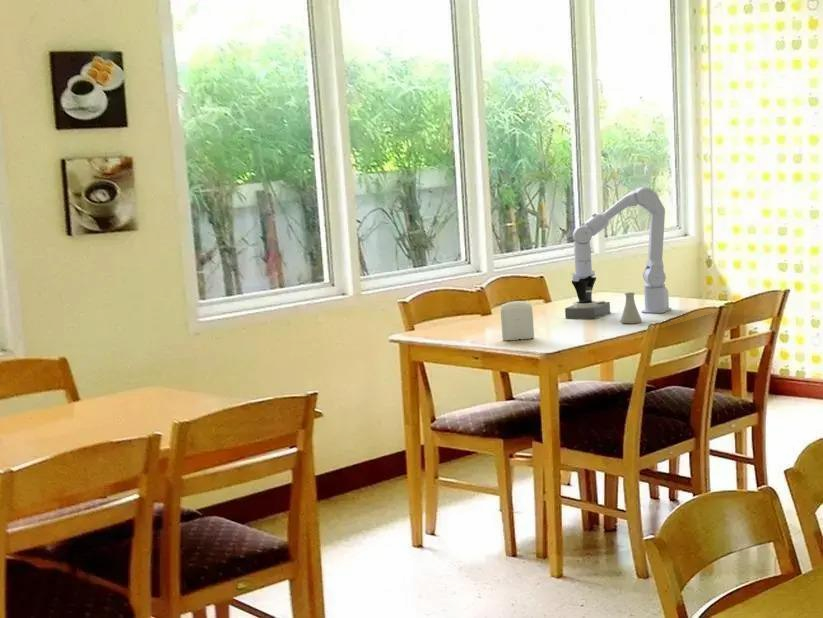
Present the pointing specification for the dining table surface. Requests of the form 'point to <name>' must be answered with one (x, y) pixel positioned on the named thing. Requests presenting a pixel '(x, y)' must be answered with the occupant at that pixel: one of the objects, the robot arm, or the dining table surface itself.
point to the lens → (587, 296)
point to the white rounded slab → (517, 321)
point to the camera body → (587, 310)
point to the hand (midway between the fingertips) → (584, 299)
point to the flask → (630, 310)
